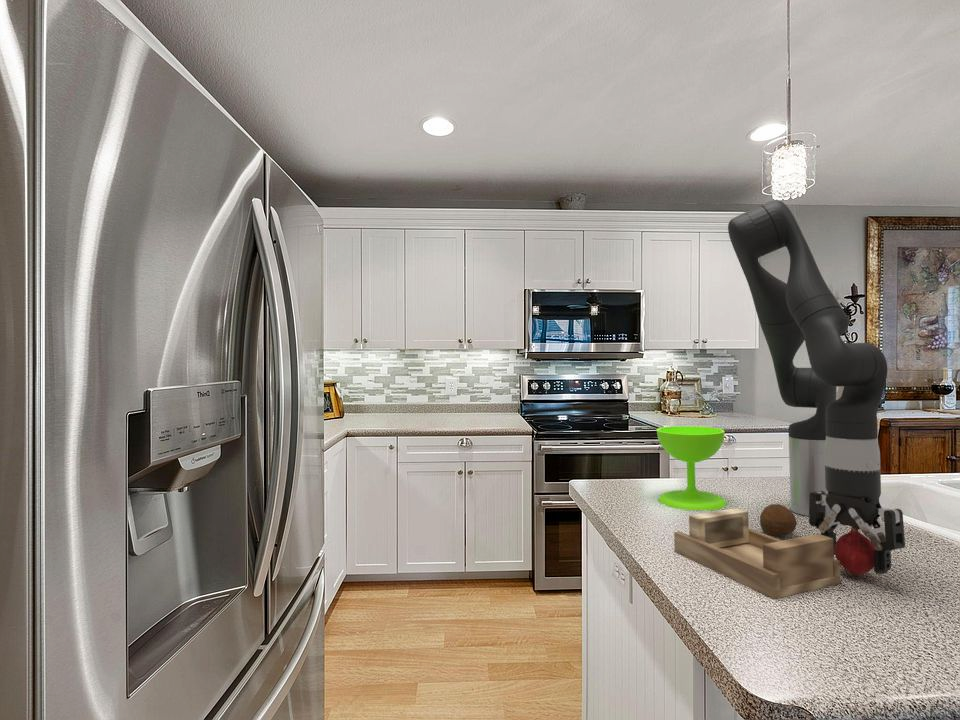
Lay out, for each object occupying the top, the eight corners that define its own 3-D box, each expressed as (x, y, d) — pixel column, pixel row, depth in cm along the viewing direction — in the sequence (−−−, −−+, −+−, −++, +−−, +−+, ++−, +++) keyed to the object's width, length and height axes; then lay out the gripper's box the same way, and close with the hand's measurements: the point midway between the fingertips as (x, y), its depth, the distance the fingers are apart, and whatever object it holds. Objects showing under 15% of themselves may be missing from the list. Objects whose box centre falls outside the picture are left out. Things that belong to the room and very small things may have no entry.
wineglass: (697, 514, 124) (695, 436, 124) (644, 499, 138) (642, 429, 138) (740, 503, 132) (738, 430, 132) (686, 490, 146) (684, 424, 146)
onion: (885, 584, 84) (884, 533, 84) (844, 582, 86) (843, 532, 86) (866, 570, 90) (865, 522, 90) (829, 568, 91) (827, 521, 91)
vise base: (732, 540, 106) (731, 504, 106) (840, 583, 85) (839, 538, 85) (674, 551, 101) (673, 513, 101) (774, 598, 81) (772, 551, 81)
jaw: (738, 538, 103) (737, 508, 103) (749, 542, 101) (748, 511, 101) (689, 546, 99) (688, 515, 99) (699, 551, 97) (698, 519, 97)
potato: (793, 529, 112) (792, 499, 112) (800, 544, 103) (800, 512, 103) (758, 526, 115) (757, 497, 115) (762, 541, 106) (761, 509, 106)
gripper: (914, 470, 82) (917, 576, 82) (827, 455, 96) (829, 546, 96) (881, 474, 80) (884, 583, 80) (796, 459, 93) (798, 552, 93)
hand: (854, 563), depth 88 cm, fingers open, 8 cm apart
